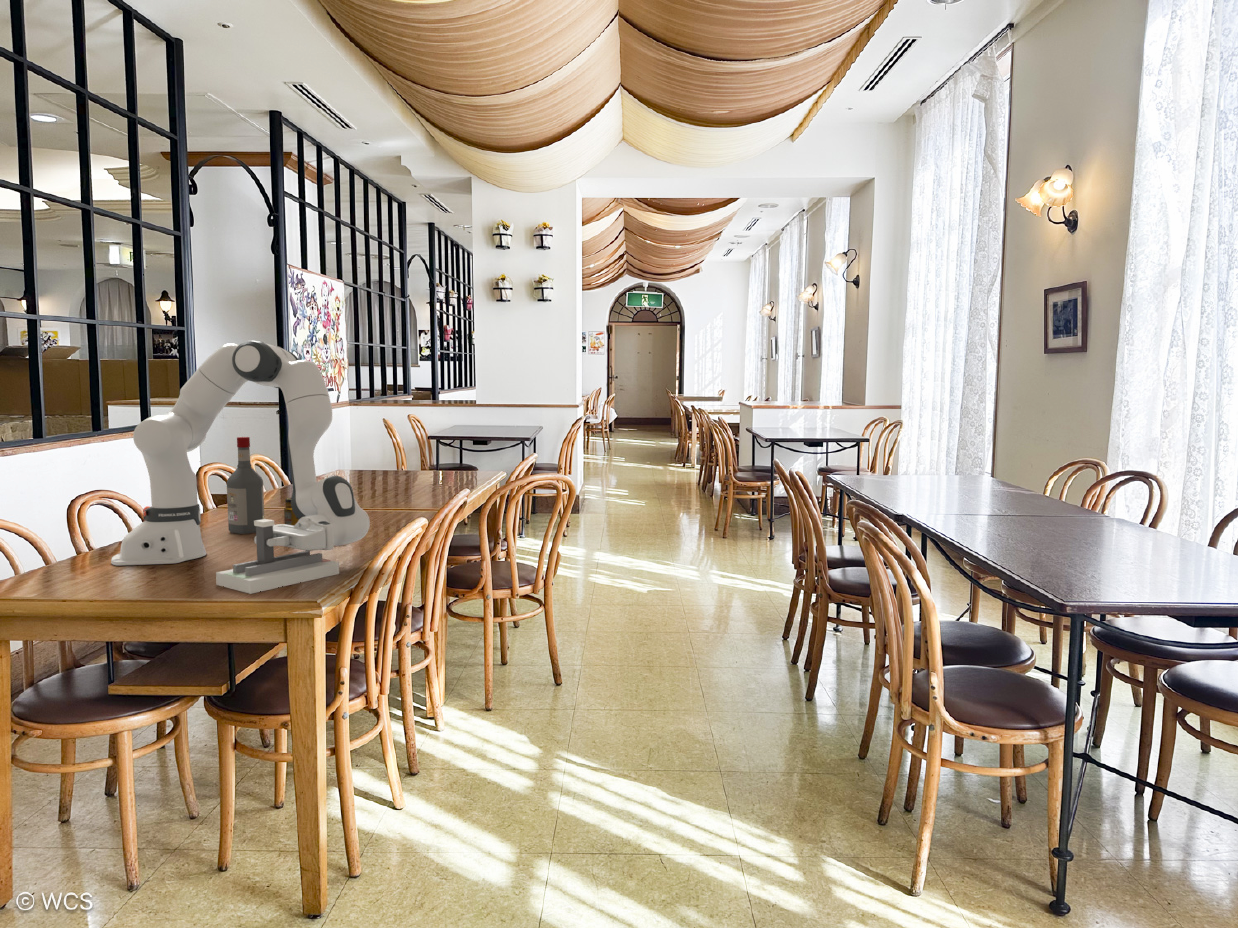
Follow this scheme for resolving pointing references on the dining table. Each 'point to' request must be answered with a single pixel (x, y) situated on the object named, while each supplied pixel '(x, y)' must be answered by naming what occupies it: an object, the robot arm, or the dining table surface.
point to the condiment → (289, 513)
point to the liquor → (244, 493)
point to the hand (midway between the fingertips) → (261, 541)
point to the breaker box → (277, 572)
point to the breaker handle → (262, 533)
